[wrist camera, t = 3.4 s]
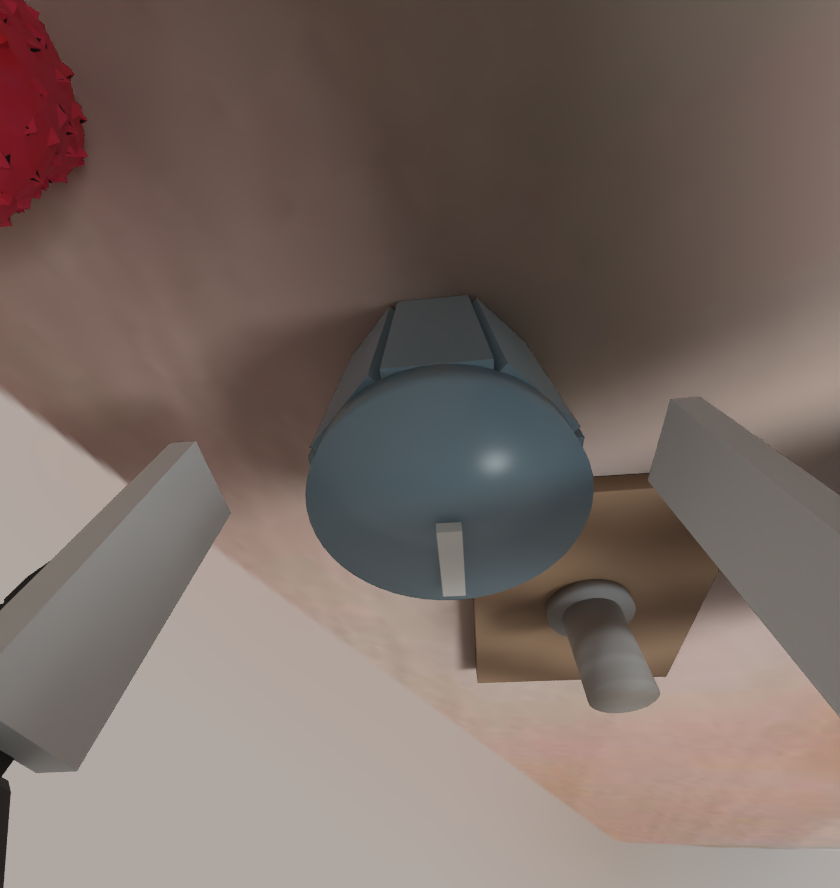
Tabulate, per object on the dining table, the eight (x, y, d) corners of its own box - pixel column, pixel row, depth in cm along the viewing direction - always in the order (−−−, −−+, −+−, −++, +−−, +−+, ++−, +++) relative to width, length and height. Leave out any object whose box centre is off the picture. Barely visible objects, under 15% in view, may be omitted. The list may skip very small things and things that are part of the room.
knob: (337, 307, 13) (261, 405, 7) (530, 288, 13) (625, 374, 7) (369, 462, 17) (337, 615, 11) (521, 451, 16) (578, 603, 10)
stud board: (469, 485, 18) (484, 589, 13) (746, 466, 17) (867, 570, 12) (476, 667, 26) (486, 768, 22) (658, 660, 25) (709, 764, 21)
